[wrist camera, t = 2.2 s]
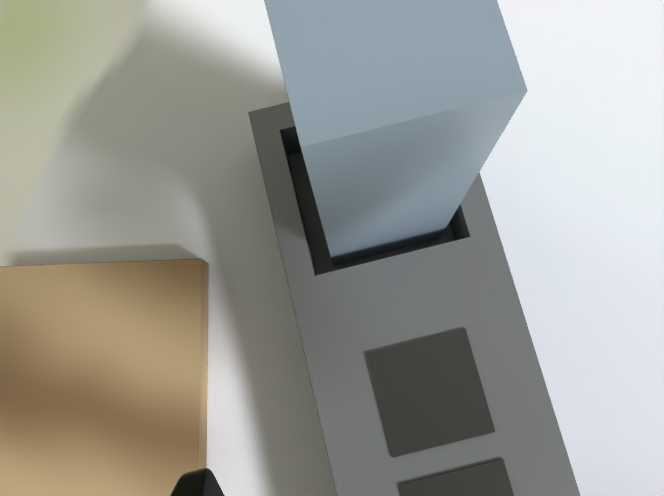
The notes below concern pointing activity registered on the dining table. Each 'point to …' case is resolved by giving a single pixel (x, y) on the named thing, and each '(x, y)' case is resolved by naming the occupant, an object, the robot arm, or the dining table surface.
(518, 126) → the dining table surface
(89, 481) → the cork mat
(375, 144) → the plug
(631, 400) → the dining table surface
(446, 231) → the gray slotted board
